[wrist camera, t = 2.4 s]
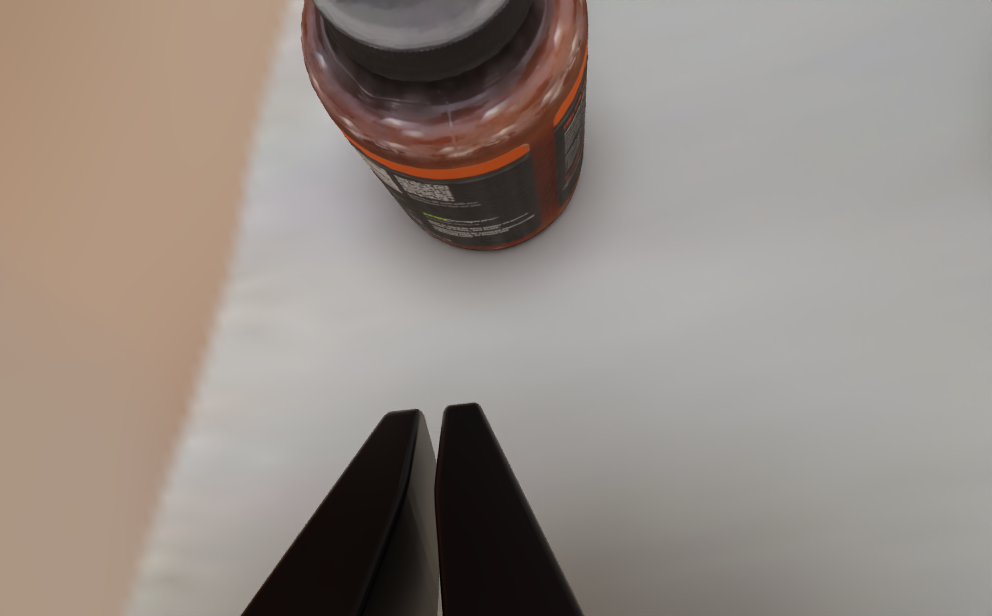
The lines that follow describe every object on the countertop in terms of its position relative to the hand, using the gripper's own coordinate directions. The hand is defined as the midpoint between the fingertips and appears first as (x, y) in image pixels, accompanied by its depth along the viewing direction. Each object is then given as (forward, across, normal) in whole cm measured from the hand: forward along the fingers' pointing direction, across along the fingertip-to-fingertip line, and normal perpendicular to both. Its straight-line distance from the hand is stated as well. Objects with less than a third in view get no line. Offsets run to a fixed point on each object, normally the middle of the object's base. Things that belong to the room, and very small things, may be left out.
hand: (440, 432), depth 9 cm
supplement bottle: (+16, 0, +4) cm, 16 cm away
